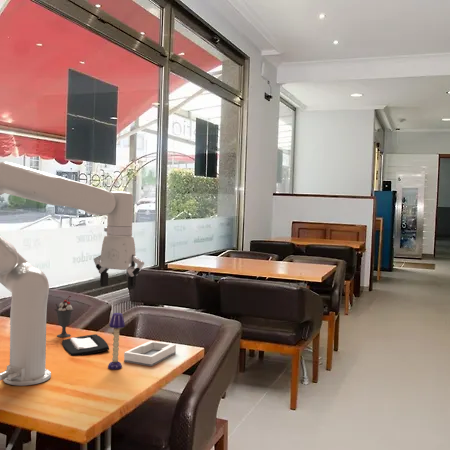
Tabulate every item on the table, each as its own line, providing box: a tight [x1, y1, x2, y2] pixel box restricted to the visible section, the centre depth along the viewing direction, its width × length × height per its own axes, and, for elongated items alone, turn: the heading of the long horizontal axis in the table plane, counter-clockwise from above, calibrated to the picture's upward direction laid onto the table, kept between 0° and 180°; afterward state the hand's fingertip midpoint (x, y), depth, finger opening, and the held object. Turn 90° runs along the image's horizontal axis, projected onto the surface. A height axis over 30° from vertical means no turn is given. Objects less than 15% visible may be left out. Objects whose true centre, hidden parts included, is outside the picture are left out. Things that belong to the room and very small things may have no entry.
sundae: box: [54, 295, 75, 339], centre depth 194 cm, size 7×7×15 cm
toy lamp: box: [107, 312, 126, 370], centre depth 159 cm, size 5×5×17 cm
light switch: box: [61, 334, 110, 357], centre depth 180 cm, size 20×3×14 cm
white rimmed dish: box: [123, 340, 177, 367], centre depth 171 cm, size 16×10×3 cm, turn 158°
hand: (117, 287), depth 160 cm, fingers open, 9 cm apart
